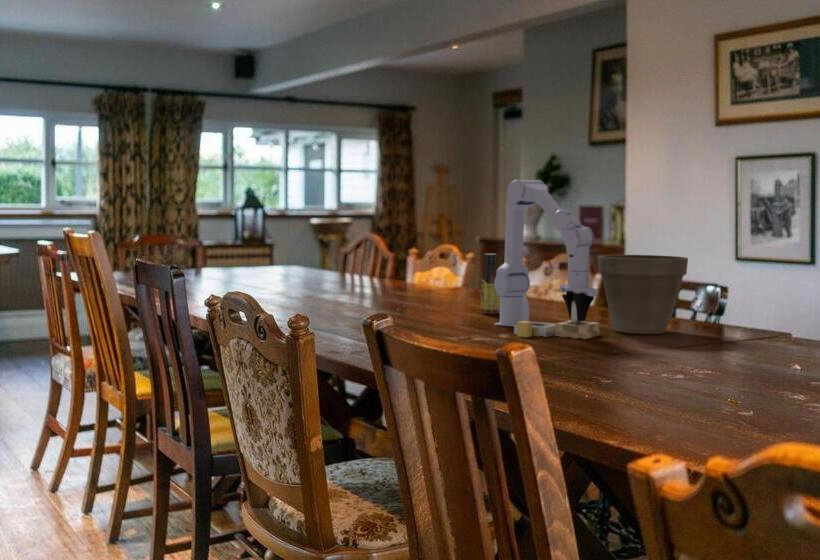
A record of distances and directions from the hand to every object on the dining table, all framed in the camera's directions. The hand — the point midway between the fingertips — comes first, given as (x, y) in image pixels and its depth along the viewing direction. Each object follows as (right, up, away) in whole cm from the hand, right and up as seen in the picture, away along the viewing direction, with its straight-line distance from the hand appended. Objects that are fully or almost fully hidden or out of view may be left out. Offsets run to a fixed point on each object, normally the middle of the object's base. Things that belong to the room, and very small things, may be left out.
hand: (577, 320), depth 263 cm
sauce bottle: (-20, 0, +53) cm, 56 cm away
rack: (0, -4, 0) cm, 4 cm away
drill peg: (0, -4, 0) cm, 4 cm away
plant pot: (+20, -4, +10) cm, 22 cm away
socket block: (-10, -4, +5) cm, 12 cm away
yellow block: (-15, -4, 0) cm, 15 cm away
